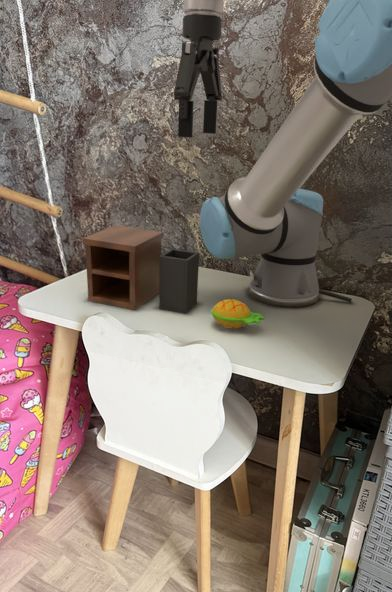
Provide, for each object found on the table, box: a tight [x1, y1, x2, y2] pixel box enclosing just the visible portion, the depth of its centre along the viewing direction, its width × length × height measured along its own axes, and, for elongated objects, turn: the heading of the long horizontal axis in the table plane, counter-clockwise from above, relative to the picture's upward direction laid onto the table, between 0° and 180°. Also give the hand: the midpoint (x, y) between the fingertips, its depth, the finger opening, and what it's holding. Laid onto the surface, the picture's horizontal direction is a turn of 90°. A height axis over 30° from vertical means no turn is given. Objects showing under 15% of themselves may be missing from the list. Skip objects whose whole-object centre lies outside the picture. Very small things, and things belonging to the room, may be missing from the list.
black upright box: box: [158, 248, 200, 315], centre depth 105 cm, size 6×6×11 cm
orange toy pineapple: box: [210, 298, 265, 329], centre depth 98 cm, size 7×10×5 cm
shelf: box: [82, 225, 164, 311], centre depth 109 cm, size 12×13×13 cm
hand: (197, 135), depth 109 cm, fingers open, 13 cm apart
